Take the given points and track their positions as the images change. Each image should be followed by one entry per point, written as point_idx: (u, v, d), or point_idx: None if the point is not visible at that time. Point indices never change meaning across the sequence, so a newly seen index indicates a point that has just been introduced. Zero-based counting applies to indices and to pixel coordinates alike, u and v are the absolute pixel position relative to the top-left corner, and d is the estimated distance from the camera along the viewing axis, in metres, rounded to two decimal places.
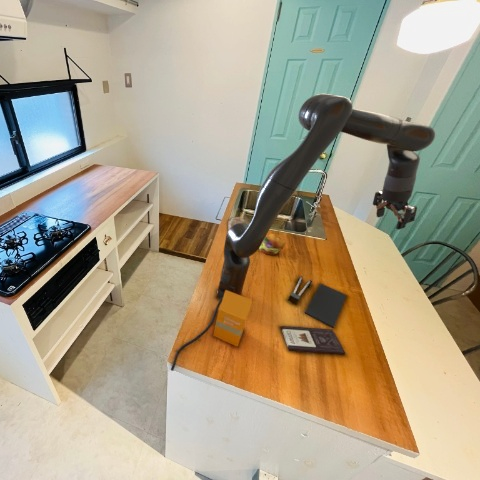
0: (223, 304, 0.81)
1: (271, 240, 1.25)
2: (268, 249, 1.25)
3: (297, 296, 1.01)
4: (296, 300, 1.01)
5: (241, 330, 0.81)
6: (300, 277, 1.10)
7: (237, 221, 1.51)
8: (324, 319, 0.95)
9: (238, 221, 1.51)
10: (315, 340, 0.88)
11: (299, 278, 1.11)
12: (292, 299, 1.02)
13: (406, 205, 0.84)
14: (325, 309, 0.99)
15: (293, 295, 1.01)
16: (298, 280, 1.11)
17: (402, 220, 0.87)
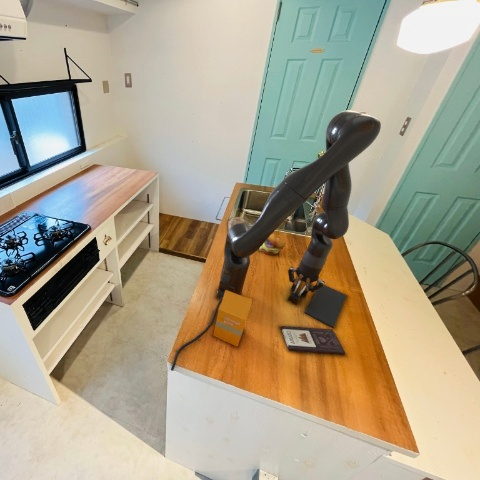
0: (223, 304, 0.81)
1: (271, 240, 1.25)
2: (268, 249, 1.25)
3: (297, 296, 1.01)
4: (296, 300, 1.01)
5: (241, 330, 0.81)
6: None
7: (237, 221, 1.51)
8: (324, 319, 0.95)
9: (238, 221, 1.51)
10: (315, 340, 0.88)
11: None
12: (292, 299, 1.02)
13: None
14: (325, 309, 0.99)
15: (293, 295, 1.01)
16: None
17: (308, 289, 1.02)
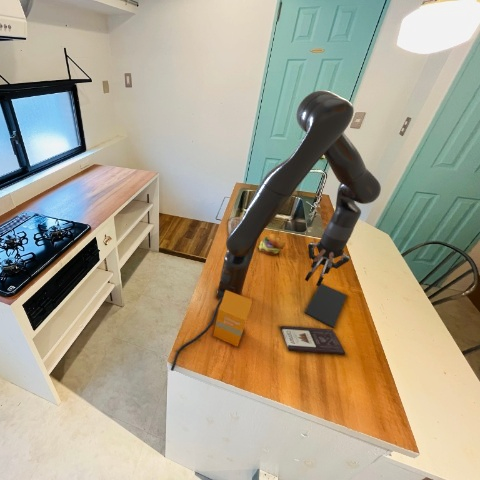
0: (223, 304, 0.81)
1: (271, 240, 1.25)
2: (268, 249, 1.25)
3: None
4: None
5: (241, 330, 0.81)
6: None
7: (237, 221, 1.51)
8: (324, 319, 0.95)
9: (238, 221, 1.51)
10: (315, 340, 0.88)
11: (322, 278, 0.91)
12: None
13: None
14: (325, 309, 0.99)
15: None
16: None
17: None
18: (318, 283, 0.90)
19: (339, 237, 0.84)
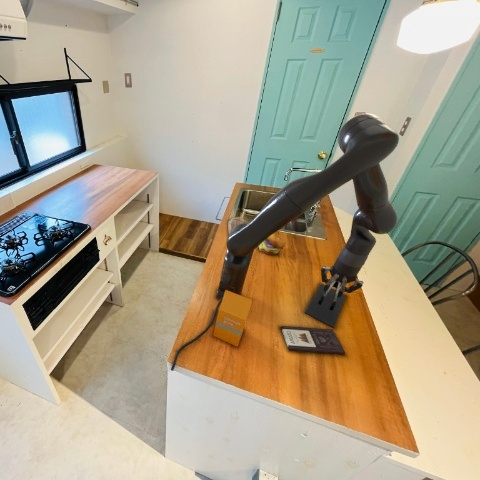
0: (223, 304, 0.81)
1: (271, 240, 1.25)
2: (268, 249, 1.25)
3: None
4: None
5: (241, 330, 0.81)
6: None
7: (237, 221, 1.51)
8: (324, 319, 0.95)
9: (238, 221, 1.51)
10: (315, 340, 0.88)
11: (335, 303, 0.92)
12: None
13: (330, 267, 0.94)
14: (325, 309, 0.99)
15: None
16: None
17: None
18: (331, 308, 0.91)
19: (353, 264, 0.85)
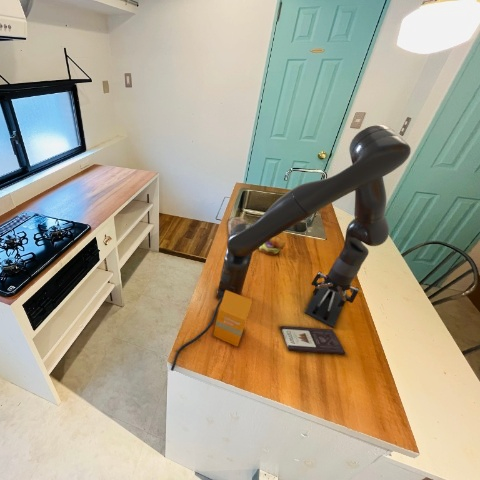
0: (223, 304, 0.81)
1: (271, 240, 1.25)
2: (268, 249, 1.25)
3: None
4: None
5: (241, 330, 0.81)
6: None
7: (237, 221, 1.51)
8: None
9: (238, 221, 1.51)
10: (315, 340, 0.88)
11: (329, 312, 0.95)
12: None
13: (324, 275, 0.97)
14: (325, 309, 0.99)
15: None
16: None
17: (317, 283, 1.01)
18: (325, 317, 0.95)
19: (347, 274, 0.88)
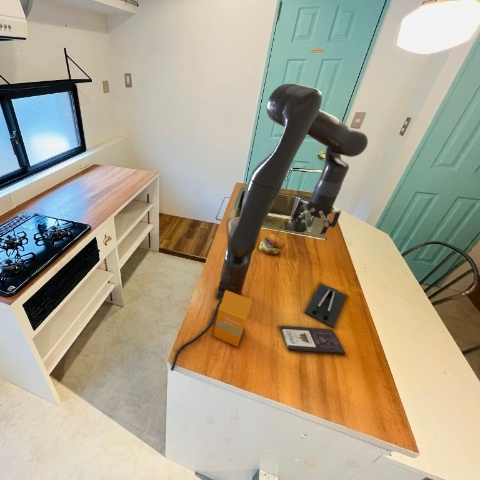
0: (223, 304, 0.81)
1: (271, 240, 1.25)
2: (268, 249, 1.25)
3: (330, 288, 1.04)
4: None
5: (241, 330, 0.81)
6: None
7: (237, 221, 1.51)
8: None
9: None
10: (315, 340, 0.88)
11: (329, 312, 0.95)
12: None
13: (307, 202, 0.96)
14: (325, 309, 0.99)
15: (334, 289, 1.03)
16: None
17: None
18: (325, 317, 0.95)
19: (327, 193, 0.86)
